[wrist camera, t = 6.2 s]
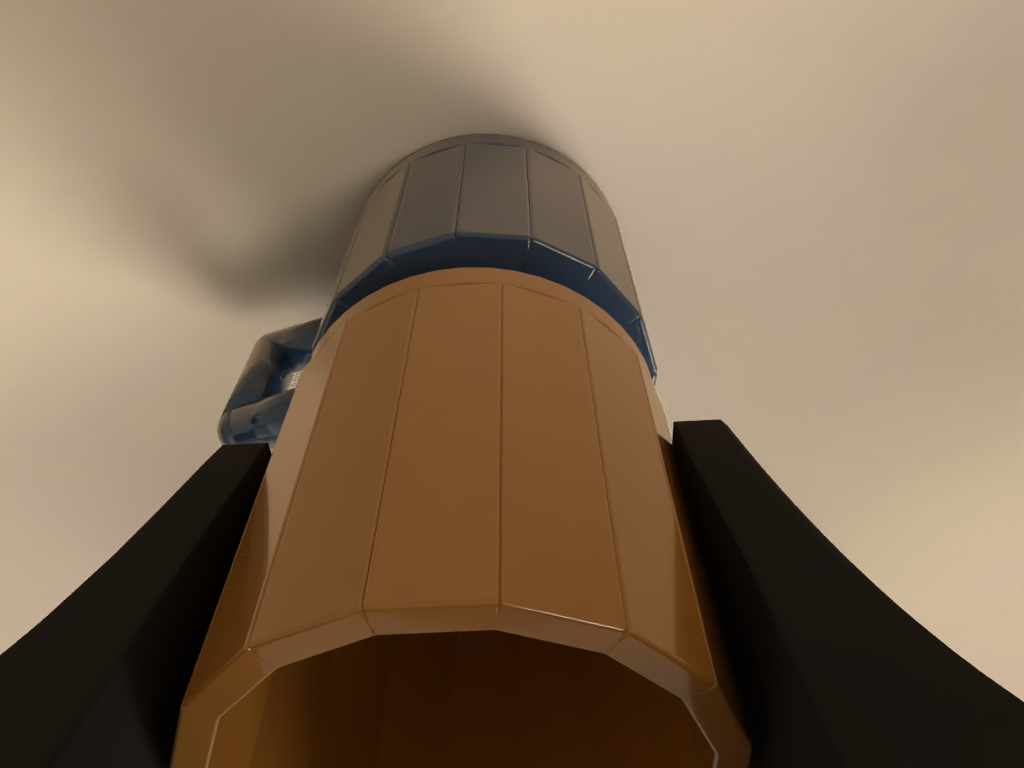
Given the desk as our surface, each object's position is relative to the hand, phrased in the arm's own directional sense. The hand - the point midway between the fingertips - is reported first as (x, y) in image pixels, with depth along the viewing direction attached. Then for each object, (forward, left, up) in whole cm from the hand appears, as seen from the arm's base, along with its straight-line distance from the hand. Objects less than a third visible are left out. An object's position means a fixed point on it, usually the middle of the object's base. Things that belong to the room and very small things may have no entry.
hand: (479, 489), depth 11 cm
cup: (+1, +1, -7) cm, 7 cm away
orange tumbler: (0, 0, -1) cm, 1 cm away
